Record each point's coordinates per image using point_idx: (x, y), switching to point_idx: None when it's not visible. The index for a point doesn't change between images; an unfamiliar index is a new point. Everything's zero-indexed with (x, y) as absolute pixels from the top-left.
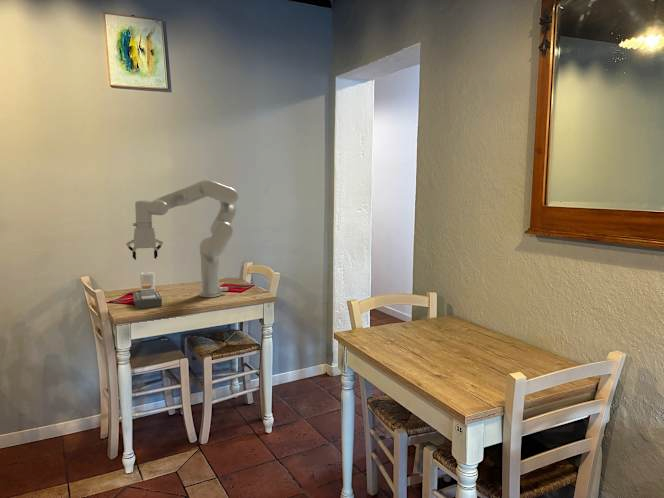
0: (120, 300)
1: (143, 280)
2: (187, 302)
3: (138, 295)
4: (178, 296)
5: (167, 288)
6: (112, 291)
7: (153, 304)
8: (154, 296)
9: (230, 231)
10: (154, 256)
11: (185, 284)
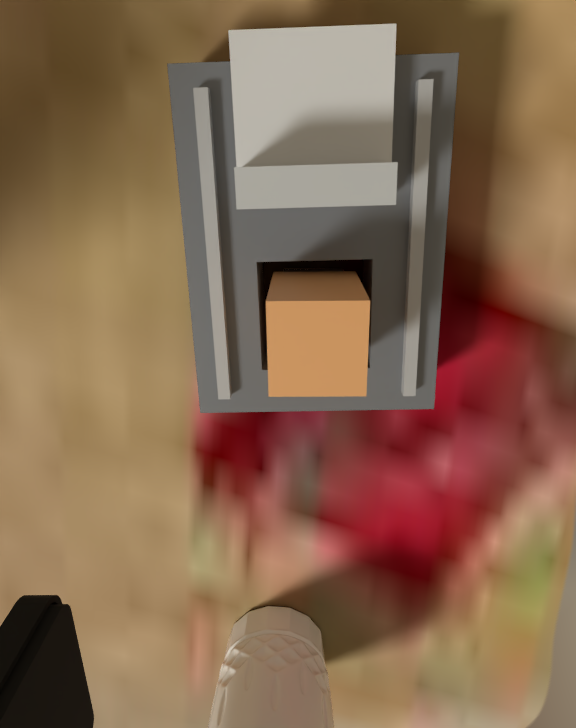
0: (519, 420)
1: (313, 697)
2: None
3: (399, 291)
4: (39, 397)
5: (133, 655)
6: (526, 686)
7: None
8: (244, 74)
9: None
10: (61, 708)
11: None
